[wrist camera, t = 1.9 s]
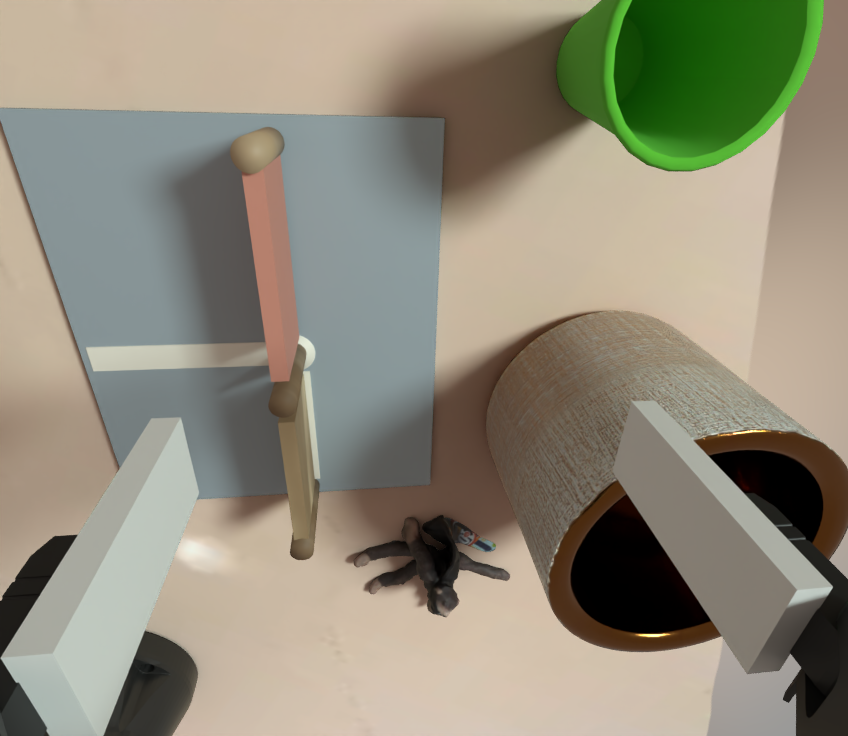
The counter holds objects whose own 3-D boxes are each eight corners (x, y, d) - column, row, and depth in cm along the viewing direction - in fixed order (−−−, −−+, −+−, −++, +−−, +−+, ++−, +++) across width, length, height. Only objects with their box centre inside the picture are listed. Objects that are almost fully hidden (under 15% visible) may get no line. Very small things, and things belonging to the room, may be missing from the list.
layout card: (134, 498, 40) (131, 504, 40) (2, 107, 27) (-5, 108, 26) (429, 480, 43) (430, 485, 43) (443, 117, 30) (444, 118, 29)
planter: (451, 467, 43) (495, 642, 29) (537, 276, 35) (651, 392, 22) (624, 501, 47) (733, 666, 34) (734, 337, 40) (930, 465, 26)
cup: (556, -59, 26) (669, -146, 17) (700, -2, 28) (875, -49, 19) (500, 125, 30) (567, 140, 21) (630, 164, 32) (745, 194, 23)
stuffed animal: (345, 534, 44) (472, 582, 39) (401, 466, 51) (513, 498, 46) (364, 619, 50) (476, 671, 44) (412, 547, 57) (513, 584, 52)
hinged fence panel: (303, 336, 34) (293, 384, 29) (279, 337, 34) (264, 385, 28) (282, 127, 28) (264, 135, 22) (253, 126, 28) (227, 135, 22)
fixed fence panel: (301, 487, 42) (291, 560, 35) (283, 339, 35) (266, 395, 29) (320, 486, 42) (314, 559, 36) (306, 338, 35) (295, 394, 29)
